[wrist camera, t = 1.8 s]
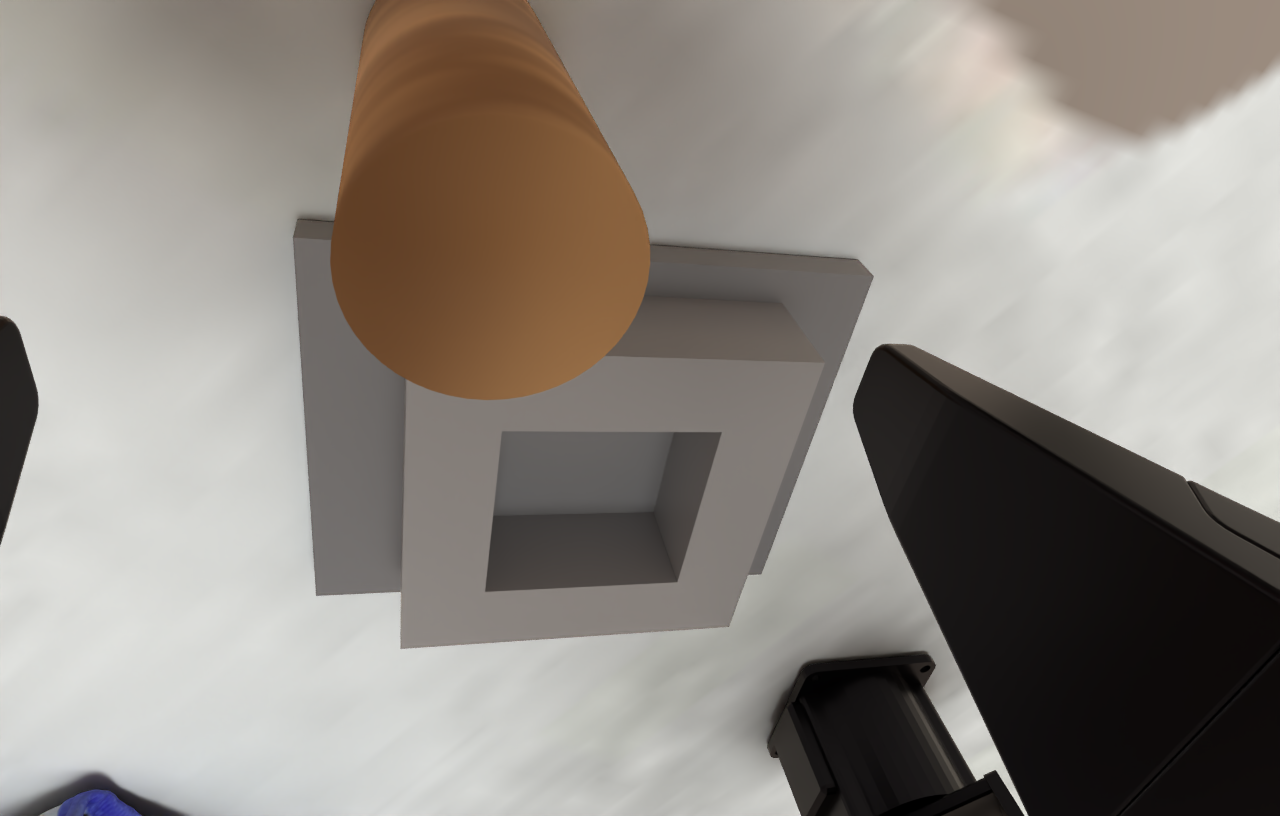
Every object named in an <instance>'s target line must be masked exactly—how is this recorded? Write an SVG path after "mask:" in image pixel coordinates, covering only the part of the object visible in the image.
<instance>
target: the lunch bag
mask: <svg viewBox="0 0 1280 816" xmlns="http://www.w3.org/2000/svg"><path fill="white" fill-rule="evenodd" d="M39 816H142V815H140V814H139V813H138V812H137V811H136V810H135V809H134V808H132V807H130V806H129V805H127V804H125V803H124V802H122V801H121V800H119V799H118V798H117V796H116V795H115V794H114V793H112V792H110V791H108V790H95V789H93V790H90V791H86V792H82V793H79V794H77V795H76V796H74V797H72V798H70V799H67V800H66V801H65V802H63V803H62V804H61V805H60V806H57V807H55V808H53V809H50V810H48V811H46V812H44V813H42V814H41V815H39Z"/></svg>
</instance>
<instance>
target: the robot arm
mask: <svg viewBox="0 0 1280 816" xmlns="http://www.w3.org/2000/svg"><path fill="white" fill-rule="evenodd" d="M38 406H39V404H38V392H37V388H36V384H35V381H34V378H33V374H32V371H31V367H30V364H29V361H28V357H27V354H26V351H25V347H24V344H23V341H22V337H21V334H20V331H19V329H18V328H17V326H16V324H15V323H14V322H13V321H12V320H11V319H9V318H8V317H5V316H0V545H1V542H2V538H3V535H4V532H5V529H6V526H7V522H8V518H9V515H10V511H11V508H12V504H13V501H14V497H15V494H16V490H17V486H18V483H19V479H20V476H21V472H22V469H23V465H24V461H25V458H26V454H27V451H28V447H29V444H30V440H31V436H32V433H33V429H34V426H35V422H36V419H37V414H38ZM853 414H854V419H855V422H856V425H857V428H858V431H859V434H860V437H861V440H862V443H863V446H864V449H865V452H866V454H867V457H868V460H869V463H870V466H871V469H872V472H873V475H874V478H875V481H876V483H877V486H878V489H879V492H880V495H881V498H882V501H883V504H884V506H885V509H886V512H887V514H888V517H889V519H890V522H891V524H892V526H893V528H894V531H895V533H896V535H897V537H898V539H899V542H900V544H901V546H902V548H903V550H904V552H905V554H906V556H907V559H908V561H909V563H910V565H911V567H912V569H913V571H914V573H915V576H916V578H917V580H918V582H919V584H920V586H921V588H922V591H923V593H924V595H925V597H926V599H927V601H928V603H929V605H930V608H931V610H932V612H933V614H934V616H935V618H936V620H937V622H938V625H939V627H940V629H941V631H942V633H943V635H944V637H945V639H946V642H947V644H948V646H949V648H950V650H951V652H952V654H953V656H954V659H955V661H956V663H957V665H958V667H959V669H960V671H961V673H962V676H963V678H964V680H965V682H966V684H967V686H968V688H969V690H970V693H971V695H972V697H973V699H974V701H975V703H976V705H977V707H978V710H979V712H980V714H981V716H982V718H983V720H984V722H985V724H986V727H987V729H988V731H989V733H990V735H991V737H992V739H993V742H994V744H995V746H996V748H997V750H998V752H999V754H1000V756H1001V759H1002V761H1003V763H1004V765H1005V767H1006V769H1007V771H1008V773H1009V776H1010V778H1011V780H1012V782H1013V784H1014V786H1015V788H1016V790H1017V793H1018V795H1019V797H1020V799H1021V801H1022V803H1023V805H1024V807H1025V810H1026V812H1027V814H1028V816H1280V522H1277V521H1275V520H1273V519H1271V518H1269V517H1267V516H1264V515H1262V514H1260V513H1258V512H1256V511H1254V510H1252V509H1250V508H1248V507H1245V506H1243V505H1241V504H1239V503H1237V502H1235V501H1233V500H1231V499H1229V498H1226V497H1224V496H1222V495H1220V494H1218V493H1216V492H1214V491H1212V490H1210V489H1208V488H1206V487H1204V486H1202V485H1200V484H1198V483H1195V482H1193V481H1186V480H1185V478H1184V477H1183V476H1181V475H1179V474H1177V473H1175V472H1173V471H1170V470H1168V469H1166V468H1164V467H1162V466H1160V465H1158V464H1156V463H1154V462H1152V461H1150V460H1148V459H1146V458H1144V457H1142V456H1140V455H1137V454H1135V453H1133V452H1131V451H1129V450H1127V449H1125V448H1123V447H1121V446H1119V445H1117V444H1115V443H1113V442H1111V441H1109V440H1107V439H1105V438H1102V437H1100V436H1098V435H1096V434H1094V433H1092V432H1090V431H1088V430H1086V429H1084V428H1082V427H1080V426H1078V425H1076V424H1074V423H1072V422H1070V421H1067V420H1065V419H1063V418H1061V417H1059V416H1057V415H1055V414H1053V413H1051V412H1049V411H1047V410H1045V409H1043V408H1041V407H1039V406H1037V405H1035V404H1032V403H1030V402H1028V401H1026V400H1024V399H1022V398H1020V397H1018V396H1016V395H1014V394H1012V393H1010V392H1008V391H1006V390H1004V389H1002V388H1000V387H997V386H995V385H993V384H991V383H989V382H987V381H985V380H983V379H981V378H979V377H977V376H975V375H973V374H971V373H969V372H967V371H965V370H962V369H960V368H958V367H956V366H954V365H952V364H950V363H948V362H946V361H944V360H942V359H940V358H938V357H936V356H934V355H932V354H929V353H927V352H925V351H923V350H921V349H919V348H917V347H915V346H912V345H907V344H882V345H880V346H879V347H877V348H876V349H875V350H874V352H873V353H872V355H871V358H870V360H869V363H868V365H867V368H866V370H865V373H864V375H863V378H862V380H861V383H860V385H859V388H858V390H857V393H856V395H855V398H854V403H853ZM935 666H936V665H935V663H934V661H933V659H932V658H931V656H929V655H915V656H903V657H891V658H879V659H867V660H855V661H844V662H832V663H820V664H812V665H809V666H807V667H806V668H804V669H803V671H802V672H801V674H800V676H799V678H798V680H797V683H796V685H795V687H794V689H793V691H792V693H791V696H790V698H789V700H788V702H787V704H786V706H785V709H784V711H783V713H782V715H781V717H780V719H779V722H778V724H777V726H776V728H775V730H774V732H773V735H772V737H771V739H770V741H769V743H768V746H767V748H768V751H769V753H770V756H771V757H773V758H779V759H780V762H781V764H782V767H783V769H784V772H785V775H786V777H787V780H788V782H789V785H790V788H791V790H792V793H793V796H794V798H795V801H796V803H797V806H798V809H799V811H800V814H801V816H1024V814H1023V813H1022V811H1021V810H1020V808H1019V806H1018V805H1017V803H1016V802H1015V800H1014V798H1013V797H1012V795H1011V794H1010V792H1009V790H1008V789H1007V787H1006V786H1005V784H1004V782H1003V781H1002V779H1001V778H1000V776H999V775H998V773H997V771H996V770H994V771H992V772H990V773H987V774H985V775H983V776H984V778H983V779H980V780H978V781H976V779H975V777H974V776H973V774H972V772H971V770H970V769H969V767H968V765H967V763H966V762H965V760H964V758H963V756H962V755H961V753H960V751H959V749H958V748H957V746H956V744H955V742H954V741H953V739H952V737H951V735H950V734H949V732H948V730H947V728H946V727H945V725H944V723H943V721H942V720H941V718H940V716H939V714H938V713H937V711H936V709H935V707H934V706H933V704H932V702H931V700H930V699H929V697H928V695H927V693H926V692H925V690H924V688H923V687H924V685H925V684H926V682H927V680H928V679H929V677H930V675H931V674H932V672H933V670H934V669H935Z"/></svg>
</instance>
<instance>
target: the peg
mask: <svg viewBox="0 0 1280 816" xmlns="http://www.w3.org/2000/svg"><path fill="white" fill-rule="evenodd" d="M330 266H331V275H332V283H333V286H334V290H335V294H336V298H337V301H338V303H339V306H340V308H341V310H342V313H343V315H344V317H345V319H346V321H347V322H348V324H349V326H350V327H351V329H352V331H353V332H354V334H355V335H356V336H357V338H358V339H359V340H360V341H361V343H362V344H363V345H364V346H365V347H366V349H367V350H368V351H369V352H370V353H371V354H373V355H374V356H375V357H376V358H377V359H378V360H379V361H380V362H381V363H382V364H384V365H385V366H387V367H388V368H389V369H391V370H392V371H393V372H395V373H396V374H398V375H400V376H401V377H403V378H405V379H407V380H409V381H410V382H412V383H414V384H417V385H419V386H422V387H424V388H426V389H429V390H431V391H435V392H438V393H442V394H445V395H449V396H454V397H460V398H465V399H477V400H503V399H511V398H518V397H525V396H528V395H532V394H536V393H540V392H543V391H546V390H549V389H552V388H554V387H557V386H559V385H561V384H563V383H566V382H568V381H570V380H572V379H574V378H575V377H577V376H579V375H580V374H582V373H583V372H585V371H586V370H588V369H590V368H591V367H592V366H593V365H595V364H596V363H597V362H598V361H600V360H601V359H602V358H603V357H604V356H605V355H606V354H607V353H608V352H609V351H610V350H611V349H612V348H613V347H614V346H615V345H616V344H617V343H618V341H619V340H620V339H621V338H622V336H623V335H624V334H625V332H626V331H627V330H628V328H629V326H630V325H631V323H632V321H633V319H634V318H635V316H636V314H637V312H638V309H639V307H640V305H641V302H642V300H643V297H644V294H645V290H646V286H647V283H648V277H649V269H650V242H649V235H648V228H647V225H646V221H645V218H644V215H643V211H642V209H641V206H640V204H639V202H638V200H637V198H636V196H635V193H634V191H633V190H632V188H631V186H630V184H629V182H628V181H627V179H626V177H625V175H624V173H623V172H622V170H621V168H620V166H619V164H618V163H617V161H616V159H615V157H614V155H613V153H612V152H611V150H610V148H609V146H608V144H607V143H606V141H605V139H604V137H603V135H602V134H601V132H600V130H599V128H598V126H597V125H596V123H595V121H594V119H593V117H592V116H591V114H590V112H589V110H588V108H587V107H586V105H585V103H584V101H583V99H582V97H581V96H580V94H579V92H578V90H577V88H576V87H575V85H574V83H573V81H572V79H571V78H570V76H569V74H568V72H567V70H566V69H565V67H564V65H563V63H562V61H561V60H560V58H559V56H558V54H557V52H556V51H555V49H554V47H553V45H552V43H551V41H550V40H549V38H548V36H547V34H546V32H545V31H544V29H543V27H542V25H541V23H540V22H539V20H538V18H537V16H536V14H535V13H534V11H533V10H532V8H531V6H530V5H529V3H528V2H527V1H526V0H376V1H375V3H374V5H373V7H372V9H371V11H370V13H369V16H368V19H367V22H366V25H365V31H364V36H363V42H362V48H361V55H360V61H359V67H358V74H357V80H356V86H355V93H354V99H353V106H352V112H351V118H350V125H349V131H348V137H347V144H346V150H345V157H344V163H343V169H342V176H341V182H340V188H339V195H338V201H337V208H336V214H335V220H334V227H333V233H332V239H331V254H330Z"/></svg>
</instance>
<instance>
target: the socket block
mask: <svg viewBox="0 0 1280 816" xmlns="http://www.w3.org/2000/svg"><path fill="white" fill-rule="evenodd" d="M333 227H334V222H327V221H313V220H299V219H298V220H297V224H296V228H295V232H294V236H293V242H294V258H295V274H296V289H297V305H298V320H299V336H300V351H301V367H302V382H303V398H304V413H305V429H306V444H307V460H308V475H309V491H310V506H311V522H312V537H313V553H314V569H315V584H316V596H322V595H343V594H363V593H384V592H401V649H405V648H420V647H435V646H450V645H465V644H479V643H494V642H509V641H524V640H539V639H554V638H569V637H584V636H598V635H613V634H628V633H643V632H658V631H673V630H688V629H703V628H717V627H729V625H730V622H731V620H732V617H733V614H734V611H735V609H736V606H737V603H738V600H739V598H740V595H741V592H742V589H743V587H744V584H745V581H746V579H747V576H748V575H756V574H762V571H763V568H764V566H765V563H766V560H767V558H768V555H769V552H770V550H771V547H772V544H773V542H774V539H775V537H776V534H777V531H778V529H779V526H780V523H781V521H782V518H783V515H784V513H785V510H786V507H787V505H788V502H789V499H790V497H791V494H792V492H793V489H794V486H795V484H796V481H797V478H798V476H799V473H800V470H801V468H802V465H803V462H804V460H805V457H806V454H807V452H808V449H809V446H810V444H811V441H812V439H813V436H814V433H815V431H816V428H817V425H818V423H819V420H820V417H821V415H822V412H823V409H824V407H825V404H826V401H827V399H828V396H829V393H830V391H831V388H832V386H833V383H834V380H835V378H836V375H837V372H838V370H839V367H840V364H841V362H842V359H843V356H844V354H845V351H846V348H847V346H848V343H849V340H850V338H851V335H852V333H853V330H854V327H855V325H856V322H857V319H858V317H859V314H860V311H861V309H862V306H863V303H864V301H865V298H866V295H867V293H868V290H869V288H870V285H871V282H872V280H873V277H874V276H873V275H872V274H871V273H870V272H869V271H868V270H867V268H866V267H865V266H864V265H863V264H862V263H861V262H860V261H859V260H852V259H839V258H825V257H811V256H797V255H783V254H769V253H756V252H742V251H728V250H714V249H700V248H686V247H673V246H659V245H650V269H649V277H648V283H647V286H646V290H645V294H644V297H643V300H642V302H641V305H640V307H639V309H638V312H637V314H636V316H635V318H634V319H633V321H632V323H631V325H630V326H629V328H628V330H627V331H626V332H625V334H624V335H623V336H622V338H621V339H620V340H619V341H618V343H617V344H616V345H615V346H614V347H613V348H612V349H611V350H610V351H609V352H608V353H607V354H606V355H605V356H604V357H603V358H602V359H601V360H600V361H598V362H597V363H596V364H595V365H593V366H592V367H591V368H590V369H588V370H586V371H585V372H583V373H582V374H580V375H579V376H577V377H575V378H574V379H572V380H570V381H568V382H566V383H563V384H561V385H559V386H557V387H554V388H552V389H549V390H546V391H543V392H540V393H536V394H532V395H528V396H525V397H518V398H511V399H503V400H477V399H465V398H460V397H454V396H449V395H445V394H442V393H438V392H435V391H431V390H429V389H426V388H424V387H422V386H419V385H417V384H414V383H412V382H410V381H409V380H407V379H405V378H403V377H401V376H400V375H398V374H396V373H395V372H393V371H392V370H391V369H389V368H388V367H387V366H385V365H384V364H382V363H381V362H380V361H379V360H378V359H377V358H376V357H375V356H374V355H373V354H371V353H370V352H369V351H368V350H367V349H366V347H365V346H364V345H363V344H362V343H361V341H360V340H359V339H358V338H357V336H356V335H355V334H354V332H353V331H352V329H351V327H350V326H349V324H348V322H347V321H346V319H345V317H344V315H343V313H342V310H341V308H340V306H339V303H338V301H337V298H336V294H335V290H334V286H333V283H332V275H331V266H330V254H331V239H332V233H333Z"/></svg>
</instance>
